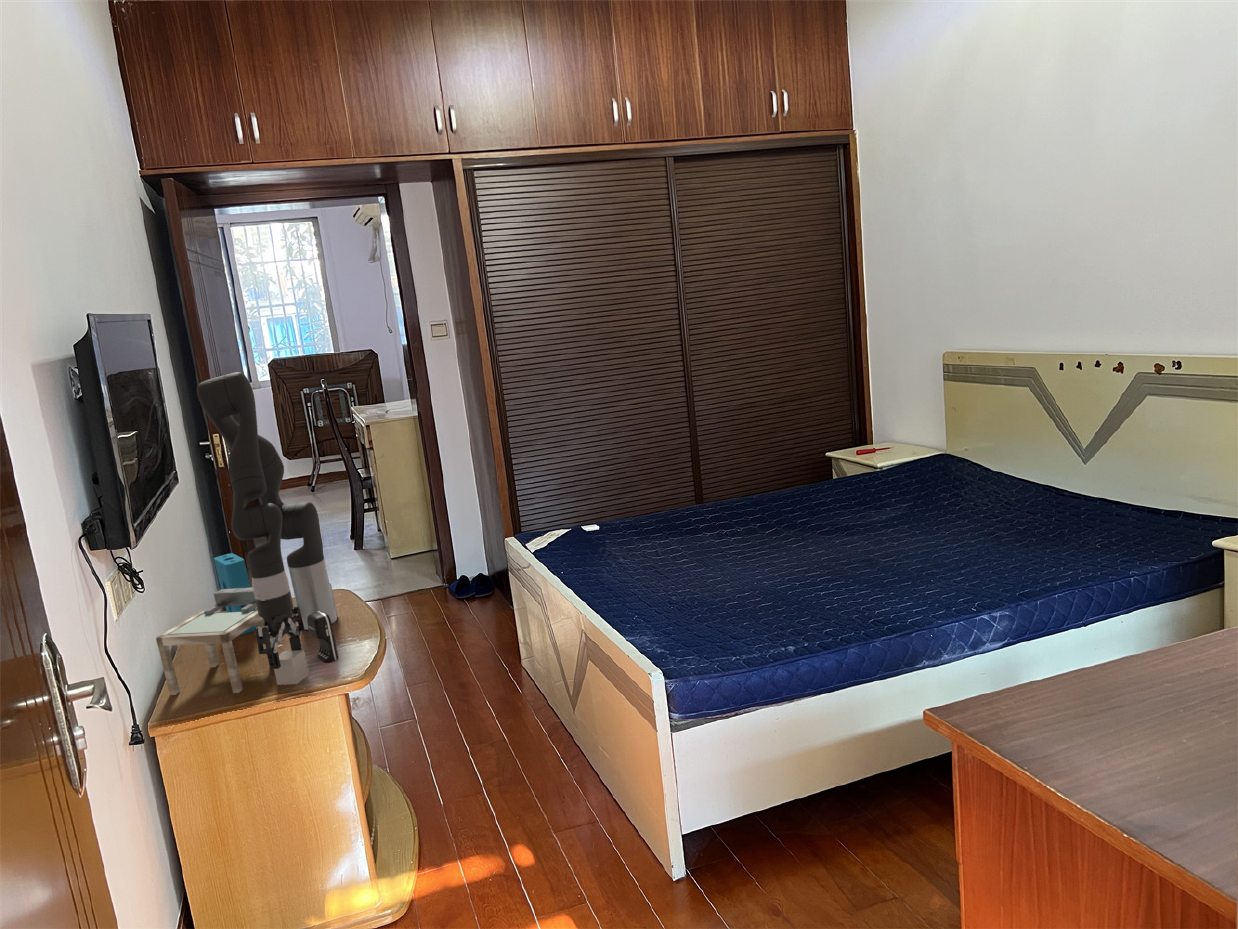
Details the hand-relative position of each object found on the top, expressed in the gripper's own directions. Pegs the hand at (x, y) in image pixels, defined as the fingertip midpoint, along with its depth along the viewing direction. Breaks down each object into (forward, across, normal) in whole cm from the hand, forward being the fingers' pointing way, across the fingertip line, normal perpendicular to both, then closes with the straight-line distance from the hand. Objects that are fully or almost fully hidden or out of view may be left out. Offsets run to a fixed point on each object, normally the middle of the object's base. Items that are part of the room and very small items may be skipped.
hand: (286, 660), depth 205 cm
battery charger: (+5, -11, +3) cm, 12 cm away
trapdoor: (-8, -6, -19) cm, 21 cm away
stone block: (+5, 0, 0) cm, 5 cm away
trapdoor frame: (+5, -2, -19) cm, 20 cm away
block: (+4, -33, -35) cm, 49 cm away
